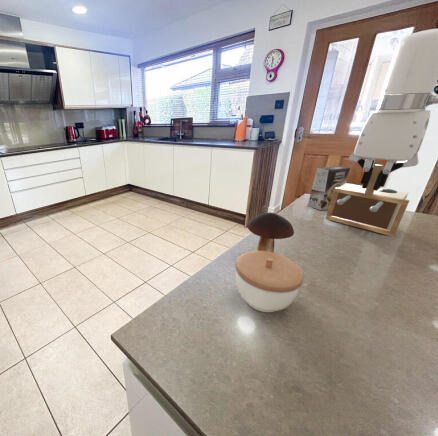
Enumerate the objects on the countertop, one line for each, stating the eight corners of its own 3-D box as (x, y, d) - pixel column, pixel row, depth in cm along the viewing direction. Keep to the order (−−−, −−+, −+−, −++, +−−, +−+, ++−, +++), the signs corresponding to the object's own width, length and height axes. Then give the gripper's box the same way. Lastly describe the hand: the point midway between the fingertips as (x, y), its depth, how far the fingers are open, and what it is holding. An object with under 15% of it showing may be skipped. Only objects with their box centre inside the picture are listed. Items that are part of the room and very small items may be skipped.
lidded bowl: (286, 334, 44) (298, 289, 40) (222, 303, 52) (227, 263, 47) (300, 296, 53) (311, 255, 48) (243, 274, 60) (249, 237, 56)
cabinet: (393, 227, 78) (408, 193, 73) (378, 245, 69) (394, 208, 64) (336, 213, 90) (345, 183, 85) (317, 227, 81) (326, 194, 75)
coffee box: (321, 211, 92) (332, 170, 86) (306, 205, 98) (316, 167, 91) (339, 207, 94) (351, 167, 88) (324, 202, 100) (334, 164, 93)
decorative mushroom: (240, 250, 71) (246, 204, 64) (280, 254, 68) (291, 206, 61) (243, 272, 61) (250, 221, 55) (290, 278, 58) (304, 224, 52)
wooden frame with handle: (394, 235, 56) (423, 169, 50) (393, 236, 56) (422, 170, 49) (326, 217, 67) (343, 160, 60) (325, 218, 66) (341, 161, 59)
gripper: (462, 101, 45) (420, 191, 53) (359, 105, 57) (338, 179, 65) (458, 102, 41) (413, 200, 49) (349, 106, 53) (327, 185, 61)
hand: (370, 187), depth 57 cm, fingers closed on wooden frame with handle, 1 cm apart
